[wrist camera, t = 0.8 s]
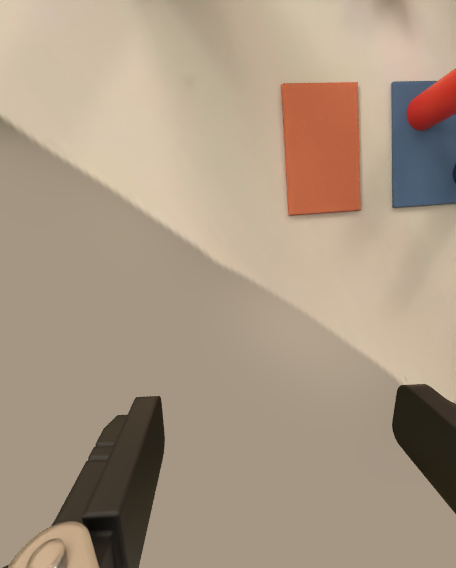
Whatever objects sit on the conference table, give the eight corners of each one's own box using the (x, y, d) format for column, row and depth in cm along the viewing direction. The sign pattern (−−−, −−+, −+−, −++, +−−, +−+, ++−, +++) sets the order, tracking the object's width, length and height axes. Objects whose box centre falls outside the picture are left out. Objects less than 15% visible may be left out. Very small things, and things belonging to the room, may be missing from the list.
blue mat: (391, 83, 35) (393, 81, 34) (485, 81, 36) (488, 80, 36) (392, 207, 37) (394, 207, 36) (481, 201, 38) (484, 200, 38)
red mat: (281, 85, 33) (282, 83, 33) (355, 84, 34) (357, 82, 34) (288, 215, 35) (289, 214, 35) (358, 210, 36) (360, 209, 36)
